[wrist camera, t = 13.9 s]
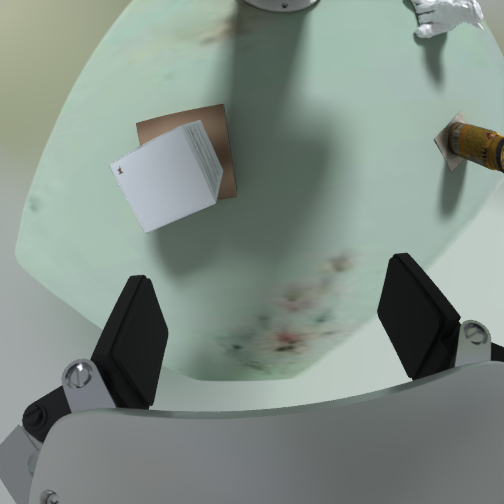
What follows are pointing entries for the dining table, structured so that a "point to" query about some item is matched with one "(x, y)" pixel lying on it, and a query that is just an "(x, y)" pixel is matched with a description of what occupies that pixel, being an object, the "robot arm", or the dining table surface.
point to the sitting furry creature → (445, 15)
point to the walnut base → (215, 130)
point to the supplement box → (170, 176)
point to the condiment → (471, 145)
